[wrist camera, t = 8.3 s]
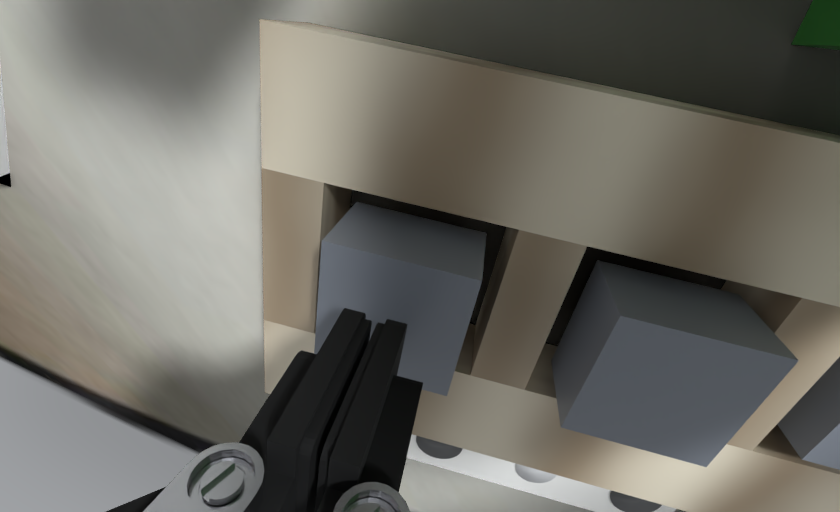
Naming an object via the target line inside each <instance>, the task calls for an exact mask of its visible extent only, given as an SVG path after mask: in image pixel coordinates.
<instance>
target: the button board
mask: <svg viewBox="0 0 840 512" xmlns="http://www.w3.org/2000/svg"><path fill="white" fill-rule="evenodd" d="M259 23H260V93H261V164H262V234H263V304H264V375H265V393H268V394H271V393H272V391H273V390H274V388H275V387H276V385H277V383H278V382H279V380H280V379H281V377H282V376H283V374H284V373H285V371H286V370H287V368H288V366H289V365H290V363H291V362H292V360H293V359H294V357H295V356H296V355H297V353H298V352H299V351H301V350H302V351H306V352H310V353H314V348H315V333H316V318H317V303H318V288H319V274H320V259H321V244H322V240H323V239H324V238H325V236H326V235H327V234H328V233H329V232H330V231H331V230H332V229H333V228H334V226H335V225H336V224H337V223H338V222H339V221H340V220H341V219H342V218H343V216H344V215H345V214H346V213H347V212H348V211H349V210H350V203H351V193H352V190H356V191H360V192H364V193H368V194H372V195H377V196H381V197H385V198H389V199H393V200H397V201H401V202H406V203H410V204H414V205H418V206H422V207H426V208H431V209H435V210H439V211H443V212H447V213H451V214H455V215H460V216H464V217H468V218H472V219H476V220H480V221H485V222H489V223H493V224H497V225H501V226H505V227H506V230H505V233H504V237H503V240H502V243H501V246H500V249H499V252H498V256H497V259H496V262H495V265H494V268H493V271H492V275H491V278H490V281H489V284H488V287H487V290H486V294H485V297H484V300H483V303H482V306H481V309H480V313H479V316H478V319H477V322H476V325H473V324H469V326H468V329H467V332H466V335H465V339H464V342H463V345H462V348H461V352H460V355H459V358H458V362H457V365H456V368H455V371H454V375H453V378H452V381H451V384H450V388H449V391H448V394H447V396H444V395H440V394H437V393H433V392H429V391H426V390H422V391H421V395H420V400H419V404H418V408H417V413H416V417H415V422H414V426H413V431H412V434H413V435H416V436H420V437H424V438H427V439H431V440H434V441H438V442H441V443H445V444H448V445H452V446H456V447H459V448H463V449H466V450H470V451H473V452H477V453H480V454H484V455H487V456H491V457H495V458H498V459H502V460H505V461H509V462H512V463H516V464H519V465H523V466H526V467H530V468H534V469H537V470H541V471H544V472H548V473H551V474H555V475H558V476H562V477H565V478H569V479H573V480H576V481H580V482H583V483H587V484H590V485H594V486H597V487H601V488H604V489H608V490H612V491H615V492H619V493H622V494H626V495H629V496H633V497H636V498H640V499H643V500H647V501H651V502H654V503H658V504H661V505H665V506H668V507H672V508H675V509H679V510H682V511H686V512H840V470H839V469H835V468H831V467H827V466H824V465H820V464H816V463H813V462H809V461H805V460H802V459H801V458H800V456H799V455H798V453H797V452H796V451H795V449H794V448H793V446H792V445H791V443H790V442H789V441H788V439H787V438H786V436H785V435H784V433H783V432H782V431H781V429H780V428H779V426H778V425H777V424H778V423H779V421H780V420H781V419H782V418H783V417H784V416H785V415H786V414H787V413H788V412H789V411H790V410H791V409H792V407H793V406H794V405H795V404H796V403H797V402H798V401H799V400H800V399H801V398H802V397H803V396H804V395H805V393H806V392H807V391H808V390H809V389H810V388H811V387H812V386H813V385H814V384H815V383H816V382H817V381H818V380H819V378H820V377H821V376H822V375H823V374H824V373H825V372H826V371H827V370H828V369H829V368H830V367H831V366H832V364H833V363H834V362H835V361H836V360H837V359H838V358H839V357H840V135H835V134H830V133H826V132H821V131H816V130H812V129H807V128H802V127H797V126H793V125H788V124H783V123H779V122H774V121H769V120H764V119H760V118H755V117H750V116H746V115H741V114H736V113H731V112H727V111H722V110H717V109H713V108H708V107H703V106H698V105H694V104H689V103H684V102H680V101H675V100H670V99H665V98H661V97H656V96H651V95H647V94H642V93H637V92H632V91H628V90H623V89H618V88H614V87H609V86H604V85H599V84H595V83H590V82H585V81H581V80H576V79H571V78H566V77H562V76H557V75H552V74H548V73H543V72H538V71H533V70H529V69H524V68H519V67H515V66H510V65H505V64H500V63H496V62H491V61H486V60H482V59H477V58H472V57H467V56H463V55H458V54H453V53H449V52H444V51H439V50H434V49H430V48H425V47H420V46H416V45H411V44H406V43H401V42H397V41H392V40H387V39H383V38H378V37H373V36H368V35H364V34H359V33H354V32H350V31H345V30H340V29H335V28H331V27H326V26H321V25H317V24H312V23H306V22H291V21H277V20H263V19H259ZM587 246H588V247H593V248H597V249H601V250H605V251H609V252H613V253H618V254H622V255H626V256H630V257H634V258H638V259H642V260H647V261H651V262H655V263H659V264H663V265H667V266H672V267H676V268H680V269H684V270H688V271H692V272H696V273H701V274H705V275H709V276H713V277H717V278H721V279H726V280H727V281H726V282H725V284H724V285H723V287H722V288H721V290H723V291H727V292H731V293H735V294H739V295H740V296H741V297H742V298H743V299H744V300H745V302H746V303H747V304H748V305H749V306H750V307H751V308H752V309H753V310H754V312H755V313H756V314H757V315H758V316H759V317H760V318H761V319H762V320H763V321H764V323H765V324H766V325H767V326H768V327H769V328H770V329H771V330H772V331H773V332H774V334H775V335H776V336H777V337H778V338H779V339H780V340H781V341H782V342H783V343H784V345H785V346H786V347H787V348H788V349H789V350H790V351H791V352H792V353H793V354H794V356H795V357H796V358H797V359H798V360H799V361H798V362H797V364H796V365H795V366H794V367H793V368H792V369H791V371H790V372H789V373H788V374H787V375H786V376H785V377H784V379H783V380H782V381H781V382H780V383H779V384H778V385H777V387H776V388H775V389H774V390H773V391H772V392H771V394H770V395H769V396H768V397H767V398H766V399H765V400H764V402H763V403H762V404H761V405H760V406H759V407H758V408H757V410H756V411H755V412H754V413H753V414H752V415H751V417H750V418H749V419H748V420H747V421H746V422H745V423H744V425H743V426H742V427H741V428H740V429H739V430H738V431H737V433H736V434H735V435H734V436H733V437H732V438H731V440H730V441H729V442H728V443H727V444H726V445H725V446H724V448H723V449H722V450H721V451H720V452H719V453H718V454H717V456H716V457H715V458H714V459H713V460H712V461H711V463H710V464H709V465H708V466H707V467H703V466H700V465H696V464H693V463H689V462H685V461H682V460H678V459H674V458H671V457H667V456H663V455H660V454H656V453H652V452H649V451H645V450H641V449H638V448H634V447H630V446H627V445H623V444H619V443H616V442H612V441H608V440H605V439H601V438H597V437H594V436H590V435H586V434H583V433H579V432H576V431H572V430H568V429H565V428H561V426H560V419H559V412H558V405H557V398H556V391H555V384H554V377H553V370H552V363H551V360H552V358H553V356H554V353H555V351H556V349H557V347H558V346H554V345H550V344H546V343H545V342H546V340H547V337H548V335H549V333H550V331H551V328H552V326H553V324H554V321H555V319H556V317H557V314H558V312H559V310H560V308H561V305H562V303H563V301H564V298H565V296H566V294H567V292H568V289H569V287H570V285H571V282H572V280H573V278H574V276H575V273H576V271H577V269H578V266H579V264H580V262H581V260H582V257H583V255H584V253H585V250H586V248H587Z"/></svg>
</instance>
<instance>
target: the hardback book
mask: <svg viewBox="0 0 840 512" xmlns="http://www.w3.org/2000/svg"><path fill="white" fill-rule="evenodd" d="M792 45H800V46H809V47H817V48H825V49H833V50H840V0H813V1H812V3H811V5H810V7H809V9H808V11H807V13H806V15H805V17H804V19H803V21H802V23H801V25H800V27H799V29H798V32H797V34H796V36H795V38H794V40H793V42H792Z"/></svg>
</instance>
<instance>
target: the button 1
mask: <svg viewBox="0 0 840 512" xmlns="http://www.w3.org/2000/svg"><path fill="white" fill-rule="evenodd" d="M486 234H487V233H484V232H480V231H476V230H472V229H467V228H463V227H459V226H455V225H451V224H447V223H443V222H439V221H434V220H430V219H426V218H422V217H418V216H414V215H410V214H406V213H401V212H397V211H393V210H389V209H385V208H381V207H377V206H373V205H368V204H364V203H360V202H356V203H355V204H354V205H353V206H352V207H351V209H350V210H349V211H348V212H347V213H346V214H345V215H344V216H343V218H342V219H341V220H340V221H339V222H338V223H337V224H336V225H335V226H334V228H333V229H332V230H331V231H330V232H329V233H328V234H327V235H326V236H325V238H324V239H323V240H322V244H321V259H320V274H319V288H318V303H317V318H316V333H315V348H314V354H317V353H318V352H319V350H320V348H321V347H322V345H323V343H324V341H325V340H326V338H327V336H328V335H329V333H330V331H331V329H332V328H333V326H334V324H335V323H336V321H337V319H338V317H339V316H340V314H341V312H342V311H343V309H344V308H347V309H351V310H355V311H359V312H363V313H365V314H366V318H365V319H367V320H371V321H372V326H371V332H370V338H371V336H372V333H373V331H374V329H375V327H376V324H377V323H378V322H379V323H383V324H385V322H386V320H387V319H390V320H394V321H398V322H402V323H406V324H407V330H406V335H405V340H404V345H403V349H402V354H401V359H400V364H399V368H398V373H397V376H400V377H404V378H408V379H411V380H415V381H419V382H423V386H422V390H426V391H429V392H433V393H437V394H440V395H444V396H447V394H448V391H449V388H450V384H451V381H452V378H453V375H454V371H455V368H456V365H457V362H458V358H459V355H460V352H461V348H462V345H463V342H464V339H465V335H466V332H467V329H468V326H469V322H470V319H471V316H472V312H473V309H474V306H475V303H476V299H477V296H478V293H479V289H480V286H481V283H482V277H483V266H484V255H485V245H486ZM369 340H370V339H369Z"/></svg>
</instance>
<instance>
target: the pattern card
mask: <svg viewBox="0 0 840 512" xmlns="http://www.w3.org/2000/svg"><path fill="white" fill-rule="evenodd" d="M406 458H409V459H412V460H416V461H419V462H423V463H426V464H430V465H433V466H437V467H440V468H444V469H447V470H451V471H454V472H458V473H461V474H465V475H468V476H472V477H475V478H479V479H482V480H486V481H489V482H493V483H496V484H500V485H503V486H507V487H510V488H514V489H517V490H521V491H524V492H528V493H531V494H535V495H538V496H542V497H545V498H549V499H552V500H556V501H559V502H563V503H566V504H570V505H573V506H577V507H580V508H584V509H587V510H591V511H594V512H674V511H675V510H676V509H675V508H672V507H668V506H665V505H661V504H658V503H654V502H651V501H647V500H643V499H640V498H636V497H633V496H629V495H626V494H622V493H619V492H615V491H612V490H608V489H604V488H601V487H597V486H594V485H590V484H587V483H583V482H580V481H576V480H573V479H569V478H565V477H562V476H558V475H555V474H551V473H548V472H544V471H541V470H537V469H534V468H530V467H526V466H523V465H519V464H516V463H512V462H509V461H505V460H502V459H498V458H495V457H491V456H487V455H484V454H480V453H477V452H473V451H470V450H466V449H463V448H459V447H456V446H452V445H448V444H445V443H441V442H438V441H434V440H431V439H427V438H424V437H420V436H416V435H413V434H412V435H411V439H410V444H409V448H408V453H407V457H406Z"/></svg>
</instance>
